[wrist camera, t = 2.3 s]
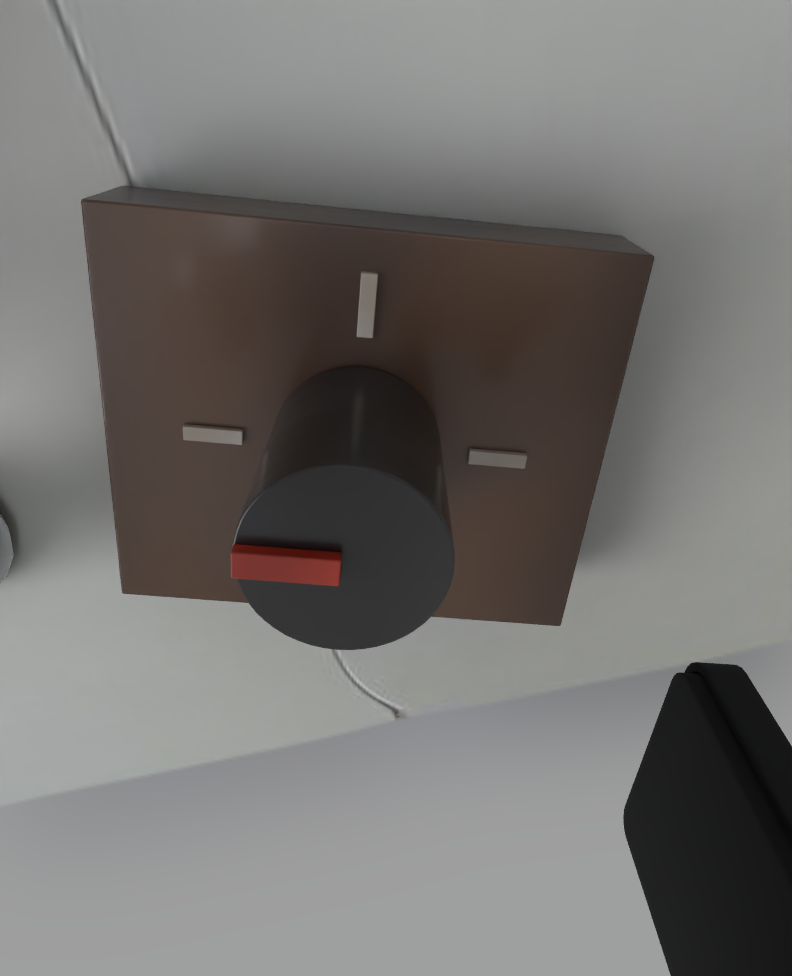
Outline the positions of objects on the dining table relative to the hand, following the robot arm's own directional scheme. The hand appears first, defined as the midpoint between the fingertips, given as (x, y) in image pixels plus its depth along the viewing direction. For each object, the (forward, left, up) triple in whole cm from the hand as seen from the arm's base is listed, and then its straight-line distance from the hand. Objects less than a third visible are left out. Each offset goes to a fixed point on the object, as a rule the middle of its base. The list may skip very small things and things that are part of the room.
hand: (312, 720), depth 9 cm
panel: (0, 0, -11) cm, 11 cm away
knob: (0, 0, -9) cm, 9 cm away
